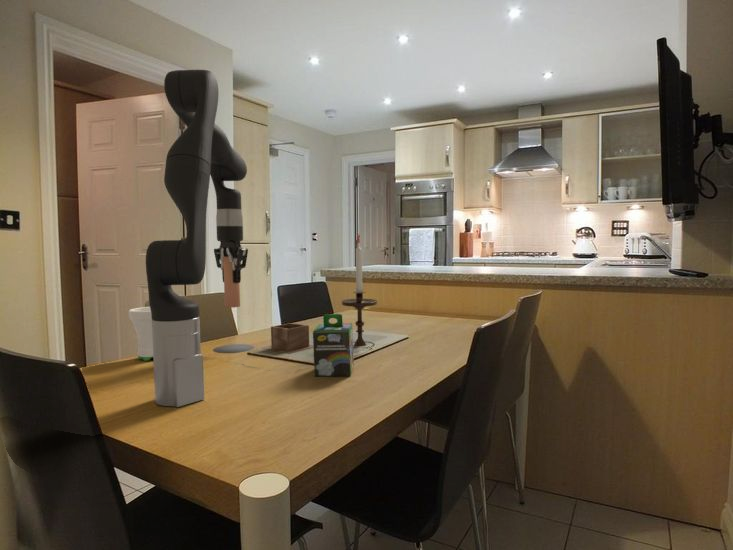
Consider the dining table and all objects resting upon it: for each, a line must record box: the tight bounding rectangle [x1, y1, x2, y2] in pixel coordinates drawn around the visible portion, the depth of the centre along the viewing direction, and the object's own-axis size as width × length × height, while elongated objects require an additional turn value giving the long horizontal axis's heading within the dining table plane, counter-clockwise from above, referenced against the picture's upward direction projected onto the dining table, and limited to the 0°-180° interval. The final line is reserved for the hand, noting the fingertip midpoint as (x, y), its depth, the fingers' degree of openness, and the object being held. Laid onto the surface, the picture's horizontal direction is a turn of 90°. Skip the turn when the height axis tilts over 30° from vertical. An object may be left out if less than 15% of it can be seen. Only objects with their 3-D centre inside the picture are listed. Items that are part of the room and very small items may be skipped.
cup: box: [128, 306, 153, 362], centre depth 136 cm, size 11×11×14 cm
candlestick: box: [341, 233, 378, 349], centre depth 145 cm, size 11×11×35 cm
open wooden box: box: [261, 322, 313, 355], centre depth 144 cm, size 12×12×7 cm
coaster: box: [212, 343, 255, 354], centre depth 143 cm, size 12×12×1 cm
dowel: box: [223, 257, 241, 309], centre depth 142 cm, size 4×4×15 cm
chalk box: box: [312, 313, 355, 377], centre depth 119 cm, size 9×9×15 cm
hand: (231, 282), depth 142 cm, fingers closed on dowel, 4 cm apart
